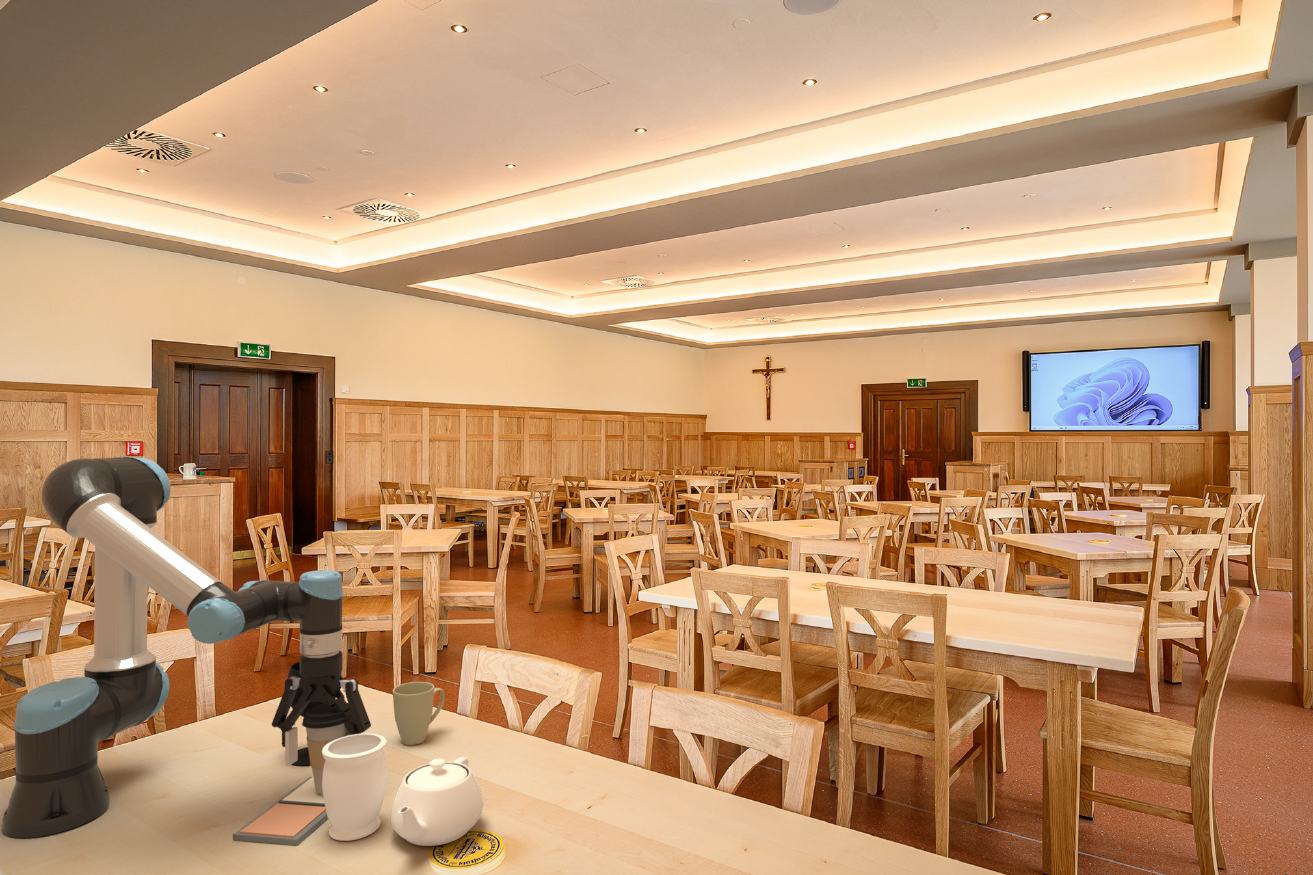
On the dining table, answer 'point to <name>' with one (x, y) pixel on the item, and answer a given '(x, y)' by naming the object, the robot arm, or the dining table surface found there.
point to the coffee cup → (322, 736)
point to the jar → (354, 784)
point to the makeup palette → (287, 818)
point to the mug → (415, 710)
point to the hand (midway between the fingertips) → (321, 765)
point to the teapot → (437, 803)
